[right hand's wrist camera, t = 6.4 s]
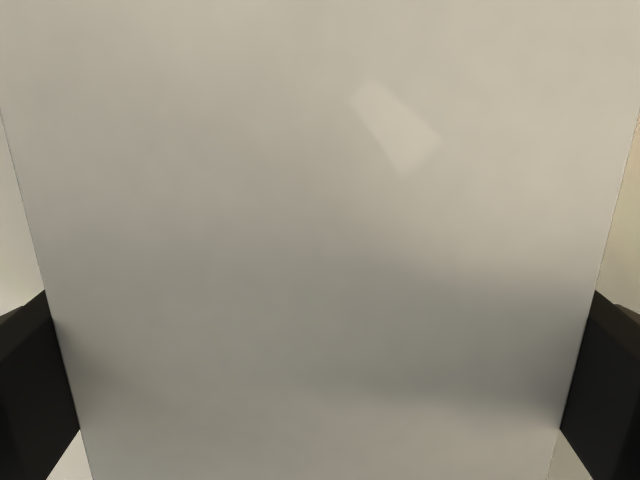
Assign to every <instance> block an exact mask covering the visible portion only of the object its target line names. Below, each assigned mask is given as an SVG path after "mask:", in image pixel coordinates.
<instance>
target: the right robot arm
mask: <svg viewBox="0 0 640 480" xmlns="http://www.w3.org/2000/svg"><path fill="white" fill-rule="evenodd" d="M79 430H80V427H79V423H78V419H77V415H76V411H75V407H74V403H73V399H72V395H71V391H70V387H69V383H68V379H67V375H66V371H65V367H64V363H63V360H62V356H61V352H60V348H59V344H58V340H57V336H56V332H55V328H54V324H53V320H52V316H51V312H50V308H49V304H48V300H47V296H46V292H45V290H43V291H42V292H41V293H39V294H38V295H37V296H36V297H34V298H33V299H32V300H31V301H29V302H28V303H27V304H26V305H24V306H21V307H18V308H16V309H14V310H12V311H10V312H8V313H6V314H4V315H2V316H0V480H46V479H47V477H48V476H49V474H50V473H51V471H52V470H53V468H54V467H55V465H56V464H57V462H58V461H59V459H60V458H61V456H62V455H63V453H64V452H65V450H66V449H67V447H68V446H69V444H70V443H71V441H72V440H73V438H74V437H75V436H76V434H77V433H78V431H79ZM560 430H561V432H562V433H563V435H564V436H565V438H566V439H567V441H568V442H569V444H570V445H571V447H572V448H573V450H574V451H575V453H576V454H577V456H578V457H579V459H580V460H581V462H582V463H583V465H584V466H585V468H586V469H587V471H588V472H589V474H590V475H591V476H592V478H593V479H594V480H640V315H639V314H637V313H635V312H633V311H631V310H629V309H627V308H625V307H623V306H621V305H619V304H613V303H611V302H610V301H609V300H608V299H606V298H605V297H604V296H603V295H601V294H600V293H599V292H597V291H596V290H595V291H594V295H593V299H592V303H591V307H590V311H589V315H588V319H587V322H586V326H585V330H584V334H583V338H582V342H581V346H580V350H579V354H578V358H577V362H576V366H575V370H574V374H573V378H572V382H571V386H570V390H569V394H568V398H567V402H566V405H565V409H564V413H563V417H562V421H561V425H560Z"/></svg>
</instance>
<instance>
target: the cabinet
mask: <svg viewBox="0 0 640 480" xmlns="http://www.w3.org/2000/svg"><path fill="white" fill-rule="evenodd" d="M639 113H640V0H0V114H1V118H2V122H3V126H4V130H5V134H6V138H7V142H8V146H9V150H10V154H11V158H12V162H13V166H14V170H15V173H16V177H17V181H18V185H19V189H20V193H21V197H22V201H23V205H24V209H25V213H26V217H27V221H28V225H29V229H30V233H31V237H32V241H33V245H34V249H35V253H36V257H37V261H38V265H39V268H40V272H41V276H42V280H43V284H44V288H45V292H46V296H47V300H48V304H49V308H50V312H51V316H52V320H53V324H54V328H55V332H56V336H57V340H58V344H59V348H60V352H61V356H62V360H63V363H64V367H65V371H66V375H67V379H68V383H69V387H70V391H71V395H72V399H73V403H74V407H75V411H76V415H77V419H78V423H79V427H80V431H81V435H82V439H83V443H84V447H85V451H86V455H87V458H88V462H89V466H90V470H91V474H92V478H93V480H547V477H548V473H549V469H550V465H551V461H552V457H553V453H554V449H555V445H556V441H557V437H558V433H559V429H560V425H561V421H562V417H563V413H564V409H565V405H566V402H567V398H568V394H569V390H570V386H571V382H572V378H573V374H574V370H575V366H576V362H577V358H578V354H579V350H580V346H581V342H582V338H583V334H584V330H585V326H586V322H587V319H588V315H589V311H590V307H591V303H592V299H593V295H594V291H595V287H596V283H597V279H598V275H599V271H600V267H601V263H602V259H603V255H604V251H605V247H606V243H607V239H608V235H609V232H610V228H611V224H612V220H613V216H614V212H615V208H616V204H617V200H618V196H619V192H620V188H621V184H622V180H623V176H624V172H625V168H626V164H627V160H628V156H629V152H630V149H631V145H632V141H633V137H634V133H635V129H636V125H637V121H638V117H639Z"/></svg>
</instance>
